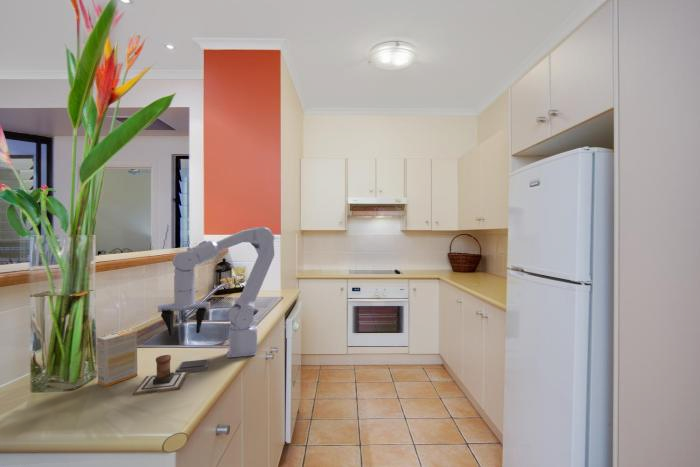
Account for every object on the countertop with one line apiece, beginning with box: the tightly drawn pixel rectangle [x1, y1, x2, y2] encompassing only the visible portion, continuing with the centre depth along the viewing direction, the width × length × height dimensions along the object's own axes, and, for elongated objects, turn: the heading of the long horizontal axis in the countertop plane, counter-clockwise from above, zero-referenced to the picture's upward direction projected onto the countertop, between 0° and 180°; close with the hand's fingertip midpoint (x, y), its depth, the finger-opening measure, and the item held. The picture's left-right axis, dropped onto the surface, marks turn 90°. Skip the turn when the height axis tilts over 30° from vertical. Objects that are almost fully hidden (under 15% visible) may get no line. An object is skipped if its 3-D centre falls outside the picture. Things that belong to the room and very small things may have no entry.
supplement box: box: [96, 328, 138, 388], centre depth 91 cm, size 8×5×13 cm, turn 150°
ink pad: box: [175, 358, 210, 373], centre depth 98 cm, size 8×6×1 cm
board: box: [131, 372, 190, 396], centre depth 88 cm, size 11×10×1 cm
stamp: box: [153, 354, 175, 385], centre depth 89 cm, size 4×4×6 cm
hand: (184, 333), depth 101 cm, fingers open, 7 cm apart
